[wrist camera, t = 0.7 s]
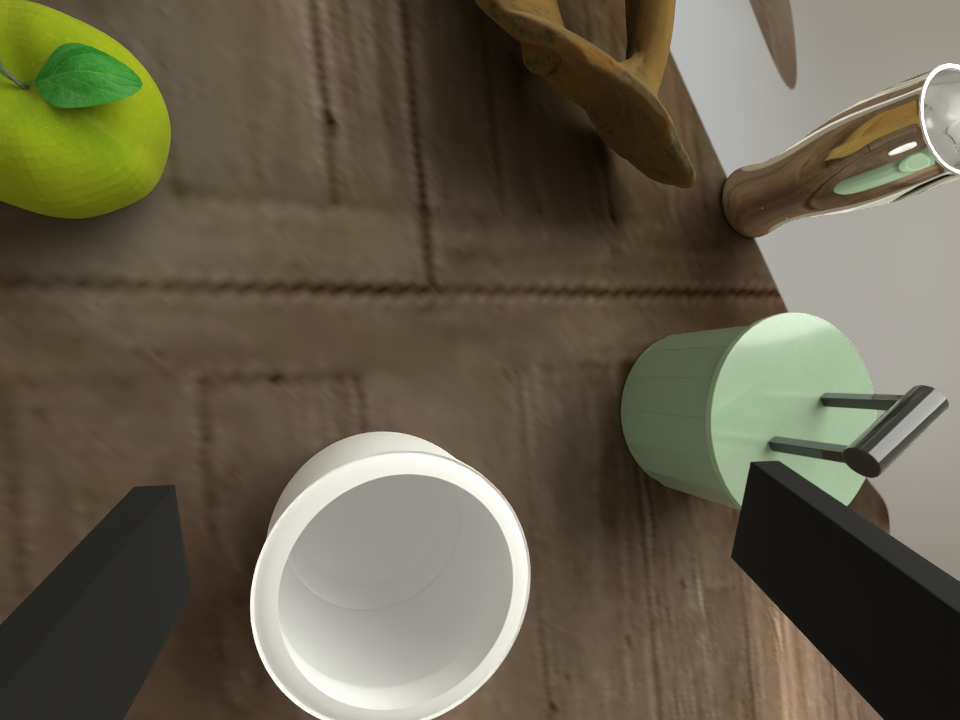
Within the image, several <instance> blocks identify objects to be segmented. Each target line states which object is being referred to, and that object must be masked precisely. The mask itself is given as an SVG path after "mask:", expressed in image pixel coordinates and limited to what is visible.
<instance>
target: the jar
mask: <svg viewBox="0 0 960 720" xmlns="http://www.w3.org/2000/svg"><path fill="white" fill-rule="evenodd" d="M529 592H530V558H529V552H528V547H527V542H526V539H525V535H524V532H523V529H522V527H521V524H520V522H519V520H518V518H517V516H516V514H515V512H514V510H513V509H512V507H511V505H510V504H509V502H508V501H507V500H506V498H505V497H504V496H503V494H502V493H501V492H500V491H499V490H498V489H497V488H496V487H495V486H494V485H493V484H492V483H491V482H490V481H489V480H488V479H487V478H485V477H484V476H483V475H482V474H480V473H479V472H478V471H476V470H475V469H473V468H472V467H470V466H468V465H467V464H465V463H463V462H461V461H459V460H457V459H455V458H454V457H453V456H452V455H450V454H449V453H448V452H446V451H445V450H443V449H441V448H440V447H438V446H436V445H434V444H432V443H430V442H428V441H426V440H423V439H421V438H418V437H415V436H411V435H407V434H402V433H396V432H370V433H363V434H358V435H354V436H351V437H348V438H345V439H342V440H340V441H338V442H335V443H333V444H331V445H330V446H328V447H326V448H324V449H323V450H321V451H320V452H318V453H317V454H316V455H314V456H313V457H312V458H311V459H309V460H308V461H307V462H306V463H305V464H304V465H303V466H302V467H301V468H300V469H299V470H298V471H297V473H296V474H295V475H294V476H293V477H292V479H291V480H290V481H289V483H288V484H287V486H286V487H285V489H284V491H283V492H282V494H281V496H280V498H279V500H278V502H277V504H276V507H275V509H274V512H273V514H272V517H271V521H270V524H269V528H268V532H267V538H266V541H265V544H264V546H263V548H262V550H261V553H260V556H259V558H258V561H257V565H256V568H255V572H254V576H253V581H252V588H251V598H250V615H251V625H252V631H253V636H254V640H255V644H256V647H257V650H258V653H259V655H260V658H261V660H262V662H263V664H264V666H265V668H266V670H267V671H268V673H269V675H270V676H271V678H272V679H273V681H274V682H275V683H276V685H277V686H278V687H279V688H280V689H281V691H282V692H283V693H284V694H285V695H286V696H287V697H288V698H289V699H290V700H292V701H293V702H294V703H295V704H296V705H298V706H299V707H300V708H302V709H303V710H305V711H306V712H308V713H310V714H311V715H313V716H315V717H317V718H319V719H321V720H431V719H433V718H435V717H438V716H440V715H442V714H444V713H446V712H447V711H449V710H451V709H453V708H454V707H456V706H457V705H459V704H460V703H462V702H463V701H465V700H466V699H467V698H468V697H470V696H471V695H472V694H473V693H475V692H476V691H477V690H478V689H479V688H480V687H481V686H482V685H483V684H484V683H485V682H486V681H487V680H488V679H489V678H490V677H491V676H492V675H493V673H494V672H495V671H496V670H497V668H498V667H499V666H500V664H501V663H502V662H503V660H504V659H505V657H506V656H507V654H508V652H509V651H510V649H511V647H512V645H513V643H514V641H515V639H516V637H517V635H518V633H519V630H520V628H521V625H522V622H523V619H524V616H525V612H526V608H527V604H528V599H529Z"/></svg>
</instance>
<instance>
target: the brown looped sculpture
mask: <svg viewBox="0 0 960 720" xmlns="http://www.w3.org/2000/svg"><path fill="white" fill-rule="evenodd" d="M475 2H476V4H477V5H478V6H479V7H480V8H481V9H482V10H483V11H484V12H485V13H486V14H487V15H488V16H489V17H490V18H491V19H492V20H494V21H495V22H496V23H497V24H498V25H499V26H500V27H501V28H502V29H504V30H505V31H506V32H507V33H508V34H509V35H511V36H512V37H513V38H515V39H517V40H518V41H520V42H521V49H522V56H523V63H524V65H525V67H526V68H527V69H528V70H529V71H530V72H531V73H533V74H536V75H539V76H541V77H543V78H544V79H545V80H546V81H547V82H548V83H549V84H550V85H551V86H552V87H553V88H554V89H556V91H558V92H559V93H560V94H561V95H562V96H563V97H565V98H566V99H568V100H571V101H573V102H574V103H576V104H578V105H580V106H581V107H582V108H583V109H584V110H585V111H586V113H587V115H588V116H589V118H590V120H591V121H592V123H593V125H594V127H595V129H596V131H597V133H598V135H599V137H600V138H601V139H602V140H603V141H604V142H605V143H606V144H607V145H608V146H609V147H610V148H611V149H612V150H613V151H614V152H616V153H617V154H618V155H619V156H621V157H622V158H624V159H626V160H628V161H629V162H630V163H631V164H632V165H633V166H635V167H636V168H637V169H638V170H639V171H641V172H642V173H643V174H645V175H646V176H647V177H649V178H650V179H652V180H654V181H657V182H660V183H663V184H668V185H674V186H678V187H680V188H689V187H692V186H693V185H694V183H695V177H696V174H695V170H694V167H693V165H692V163H691V161H690V159H689V157H688V154H687V152H686V151H685V149H684V148H683V146H682V143H681V141H680V140H679V139H678V135H677V133H676V130H675V127H674V124H673V121H672V119H671V117H670V115H669V114H668V112H667V111H666V109H665V108H664V106H663V105H662V104H661V102H660V101H659V99H658V89H659V86H660V83H661V80H662V77H663V73H664V69H665V66H666V62H667V58H668V54H669V50H670V44H671V38H672V31H673V24H674V13H675V2H676V0H625V5H626V30H627V49H626V60H624V61H621V62H617V61H615V60H614V59H613V58H612V57H610V56H609V55H608V54H607V53H605V52H604V51H602V50H601V49H599V48H598V47H597V46H595V45H594V44H592V43H590V42H589V41H587V40H585V39H583V38H582V37H580V36H579V35H577V34H575V33H573V32H571V31H569V30H567V29H565V26H564V23H563V20H562V17H561V14H560V11H559V7H558V3H557V0H475Z"/></svg>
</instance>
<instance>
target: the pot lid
mask: <svg viewBox="0 0 960 720" xmlns="http://www.w3.org/2000/svg"><path fill="white" fill-rule="evenodd" d="M948 407H949V403H948V400H947V398H946V396H945V395H944V394H943V393H941V392H940V391H939V390H937V389H935V388H932V387H929V386H924V385H921V386H915V387H912V388H911V389H910V390H909V391H908V392H907V393H906V394H905V395H885V394H884V395H883V394H874V389H873V386H872V382H871V379H870V376H869V373H868V371H867V368H866V366H865V364H864V362H863V360H862V358H861V357H860V354H859V353H858V351H857V350H856V348H855V347H854V346H853V344H852V343H851V342H850V340H849V339H848V338H847V337H846V336H845V335H844V334H843V333H842V332H841V331H840V330H839V329H837V328H836V327H835V326H833V325H832V324H830V323H829V322H827V321H825V320H823V319H821V318H819V317H816V316H813V315H810V314H806V313H797V312H791V313H780V314H775V315H771V316H767V317H765V318H763V319H760V320H758V321H756V322H755V323H753V324H751V325H750V326H748V327H747V328H746V329H744V330H743V331H742V332H741V333H740V334H739V335H738V336H737V337H736V338H735V339H734V340H733V341H732V342H731V344H730V345H729V346H728V348H727V349H726V351H725V352H724V354H723V355H722V357H721V359H720V361H719V363H718V365H717V367H716V369H715V372H714V374H713V377H712V380H711V383H710V387H709V391H708V395H707V402H706V410H705V431H706V442H707V447H708V452H709V457H710V460H711V463H712V466H713V469H714V472H715V474H716V476H717V478H718V480H719V483H720V484H721V486H722V488H723V489H724V491H725V493H726V494H727V495H728V497H729V498H730V499H731V500H732V502H733V503H734V504H735V505H736V506H737V507H738V508H739V509H740V510H741V506H742V501H743V496H744V492H745V487H746V482H747V477H748V472H749V467H750V462H755V461H780V462H782V463H783V464H785V465H786V466H788V467H789V468H791V469H792V470H794V471H795V472H797V473H798V474H800V475H801V476H803V477H804V478H806V479H807V480H808V481H810V482H811V483H813V484H814V485H816V486H817V487H819V488H820V489H822V490H823V491H825V492H826V493H828V494H829V495H831V496H832V497H834V498H835V499H837V500H838V501H840V502H841V503H843V504H844V505H846V506H847V505H848V504H849V503H850V502H851V501H852V500H853V498H854V497H855V495H856V494H857V492H858V491H859V489H860V487H861V485H862V484H863V482H864V480H865V478H866V477H869V478H874V477H878V476H879V475H880V474H881V473H882V472H883V471H885V470H886V469H887V468H888V467H889V466H890V465H891V464H892V463H893V462H894V461H895V460H896V459H897V458H898V457H899V456H900V455H901V454H902V453H903V452H904V451H905V450H906V449H907V448H908V447H909V446H910V445H911V444H912V443H913V442H914V441H915V440H916V439H918V438H919V437H920V436H921V435H922V434H923V433H924V432H925V431H926V430H927V429H928V428H929V427H930V426H931V425H932V424H933V423H934V422H935V421H936V420H937V419H938V418H939V417H940V416H941V415H942V414H943V413H944V412H945V411H946V410H947V409H948ZM877 410H887V411H886V412H885V413H884V414H883V415H881V416H880V417H879V418H878V419H877Z"/></svg>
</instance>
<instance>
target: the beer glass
mask: <svg viewBox="0 0 960 720" xmlns="http://www.w3.org/2000/svg"><path fill="white" fill-rule="evenodd" d="M959 178H960V65H957V64H951V63H950V64H943V65H940V66H938V67H936V68H934V69H933V70H930V71H928V72H925V73H923V74H921V75H918V76H916V77H913V78H911V79H908V80H906V81H904V82H901V83H899V84H897V85H895V86H892V87H890V88H887V89H885V90H883V91H881V92H879V93H877V94H875V95H872V96H870V97H868V98H866V99H864V100H862V101H861V102H859V103H857V104H855V105H853V106H851V107H849V108H847V109H846V110H844V111H842V112H840V113H839V114H837V115H836V116H834V117H833V118H831V119H830V120H828V121H826V122H825V123H823V124H822V125H821V126H819V127H818V128H817V129H815V130H813V131H812V132H811V133H809V134H808V135H807V136H805V137H804V138H802V139H801V140H799V141H798V142H797V143H795V144H794V145H793V146H791V147H790V148H788V149H787V150H785V151H784V152H782V153H781V154H779V155H777V156H775V157H773V158H771V159H769V160H766V161H763V162H760V163H756V164H752V165H748V166H745V167H741V168H739V169H737V170H735V171H734V172H733V173H732V174H730V176H729V177H728V178H727V180H726V182H725V184H724V187H723V190H722V207H723V211H724V214H725V217H726V219H727V221H728V222H729V224H730V225H731V226H732V227H733V229H734V230H736V231H737V232H738V233H740V234H741V235H743V236H746V237H751V238H755V237H760V236H763V235H766V234H768V233H770V232H771V231H773V230H775V229H777V228H779V227H780V226H782V225H784V224H786V223H788V222H791V221H794V220H798V219H801V218H807V217H814V216H821V215H829V214H837V213H844V212H851V211H856V210H862V209H867V208H872V207H876V206H880V205H884V204H888V203H891V202H895V201H898V200H901V199H904V198H907V197H910V196H913V195H916V194H919V193H922V192H925V191H927V190H930V189H933V188H935V187H938V186H941V185H943V184H946V183H948V182H951V181H954V180H956V179H959Z"/></svg>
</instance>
